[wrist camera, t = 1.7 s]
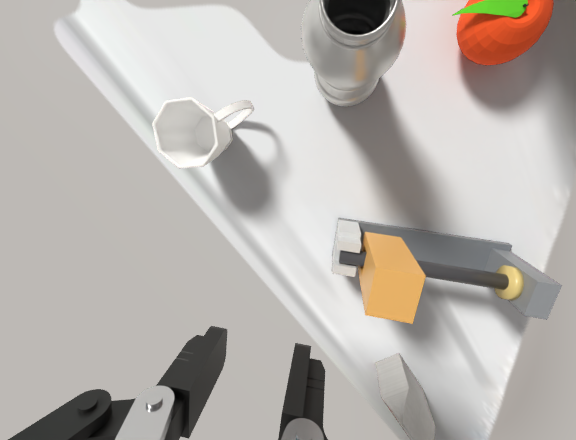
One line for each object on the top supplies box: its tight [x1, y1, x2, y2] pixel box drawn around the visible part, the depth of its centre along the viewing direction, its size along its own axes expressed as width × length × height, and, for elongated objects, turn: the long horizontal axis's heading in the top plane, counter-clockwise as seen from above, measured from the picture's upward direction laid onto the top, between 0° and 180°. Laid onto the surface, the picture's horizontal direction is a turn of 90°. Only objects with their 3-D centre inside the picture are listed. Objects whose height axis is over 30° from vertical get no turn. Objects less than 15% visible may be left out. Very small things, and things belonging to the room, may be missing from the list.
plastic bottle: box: [301, 0, 406, 106], centre depth 23 cm, size 6×7×20 cm
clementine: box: [452, 0, 554, 65], centre depth 26 cm, size 8×7×7 cm
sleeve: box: [358, 232, 426, 324], centre depth 29 cm, size 4×5×10 cm
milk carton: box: [375, 353, 436, 440], centre depth 37 cm, size 4×7×10 cm, turn 34°
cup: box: [152, 97, 254, 169], centre depth 32 cm, size 7×10×8 cm
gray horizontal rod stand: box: [332, 218, 562, 320], centre depth 32 cm, size 20×5×9 cm, turn 83°
